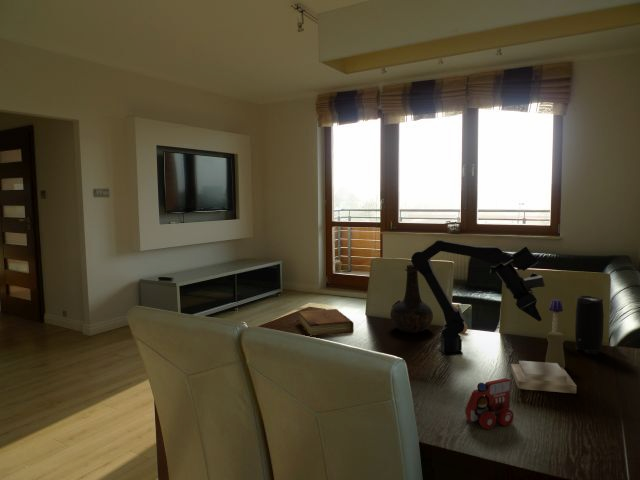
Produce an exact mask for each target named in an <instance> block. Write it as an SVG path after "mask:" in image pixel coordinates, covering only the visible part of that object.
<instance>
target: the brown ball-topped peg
mask: <svg viewBox="0 0 640 480" xmlns="http://www.w3.org/2000/svg"><path fill="white" fill-rule="evenodd" d="M546 340H547V343H548V342H549V343H548V344H547V350H546V355H545V361H544V362H546V363H557V364H558V365H559V366H560V367H563V368H564V369H565V368H566V363H565V362H566V361H565V353H564V345H563V344H564V342H565V335H564V334H563V333H562V332H559V331H557V332H552V331H549V332H548V333H547V334H546Z"/></svg>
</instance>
